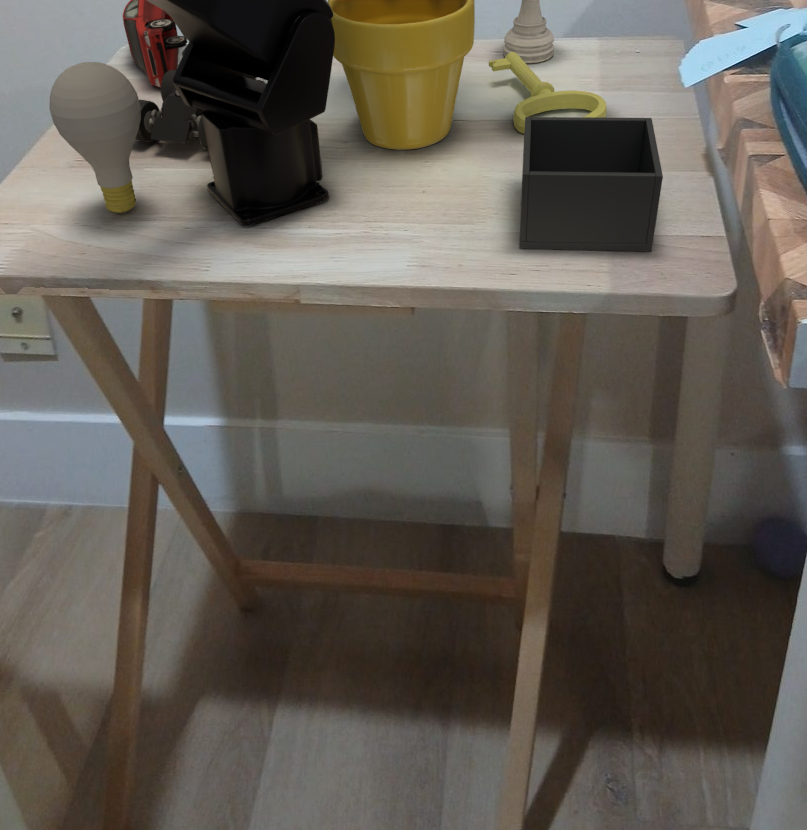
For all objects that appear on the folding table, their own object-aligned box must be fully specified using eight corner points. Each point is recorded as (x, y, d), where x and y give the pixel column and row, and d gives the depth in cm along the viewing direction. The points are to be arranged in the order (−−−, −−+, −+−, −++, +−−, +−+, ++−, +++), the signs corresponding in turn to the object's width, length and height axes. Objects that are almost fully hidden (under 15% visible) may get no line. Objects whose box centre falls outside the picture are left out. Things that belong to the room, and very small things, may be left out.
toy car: (178, -31, 87) (124, -26, 86) (171, 34, 76) (109, 40, 76) (191, 28, 91) (139, 34, 90) (186, 98, 80) (127, 104, 80)
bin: (519, 248, 57) (522, 174, 54) (522, 187, 63) (525, 116, 60) (651, 251, 57) (663, 175, 53) (642, 189, 62) (651, 117, 59)
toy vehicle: (307, 84, 78) (295, -27, 73) (218, 161, 68) (195, 39, 62) (222, 74, 81) (204, -34, 75) (124, 148, 70) (94, 29, 65)
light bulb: (173, 192, 65) (140, 47, 59) (150, 232, 61) (111, 81, 54) (99, 192, 66) (58, 48, 59) (70, 231, 62) (23, 82, 55)
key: (511, 73, 78) (512, 48, 77) (618, 120, 71) (621, 92, 69) (444, 97, 75) (443, 71, 74) (548, 148, 68) (550, 120, 66)
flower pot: (355, 172, 66) (343, 32, 60) (325, 116, 74) (311, -14, 67) (492, 149, 68) (495, 10, 62) (450, 96, 76) (448, -32, 69)
